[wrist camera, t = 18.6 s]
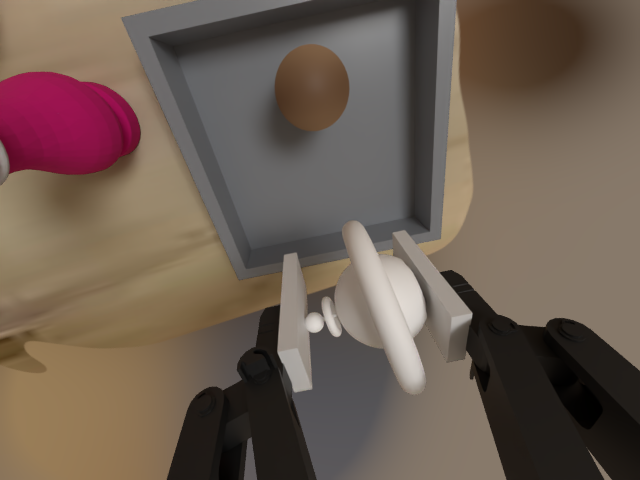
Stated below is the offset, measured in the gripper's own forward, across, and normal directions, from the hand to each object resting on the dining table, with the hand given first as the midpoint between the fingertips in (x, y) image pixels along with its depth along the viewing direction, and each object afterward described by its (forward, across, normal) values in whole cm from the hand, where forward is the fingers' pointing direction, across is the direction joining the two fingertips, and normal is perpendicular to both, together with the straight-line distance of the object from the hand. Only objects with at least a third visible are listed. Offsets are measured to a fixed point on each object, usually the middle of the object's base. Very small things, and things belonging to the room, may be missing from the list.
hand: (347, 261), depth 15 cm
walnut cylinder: (+14, 0, +9) cm, 17 cm away
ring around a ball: (0, 0, 0) cm, 0 cm away
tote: (+15, 0, +4) cm, 16 cm away
